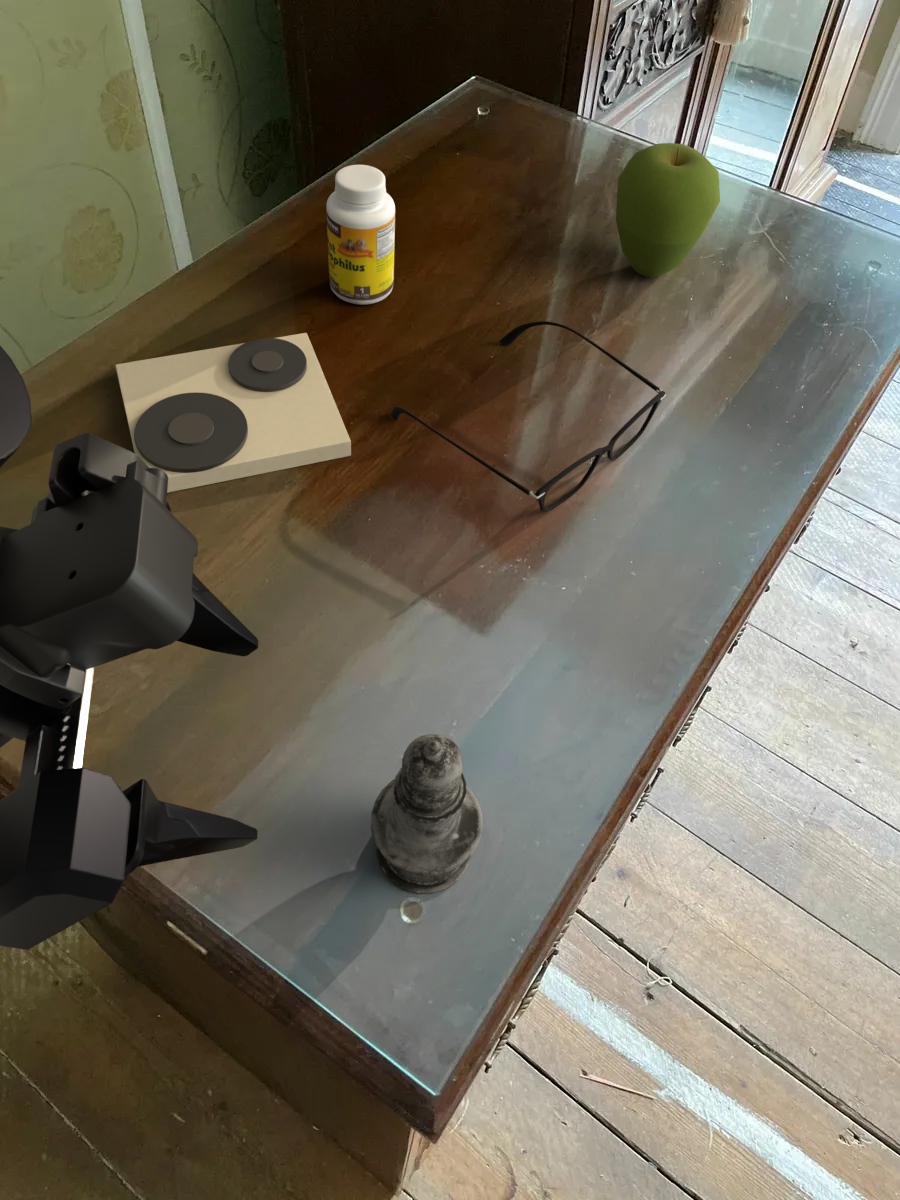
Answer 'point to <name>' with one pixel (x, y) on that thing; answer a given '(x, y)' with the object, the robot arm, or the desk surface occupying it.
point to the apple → (664, 205)
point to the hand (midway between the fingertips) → (252, 737)
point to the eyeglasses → (596, 453)
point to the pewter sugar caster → (427, 818)
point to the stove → (232, 411)
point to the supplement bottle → (361, 236)
